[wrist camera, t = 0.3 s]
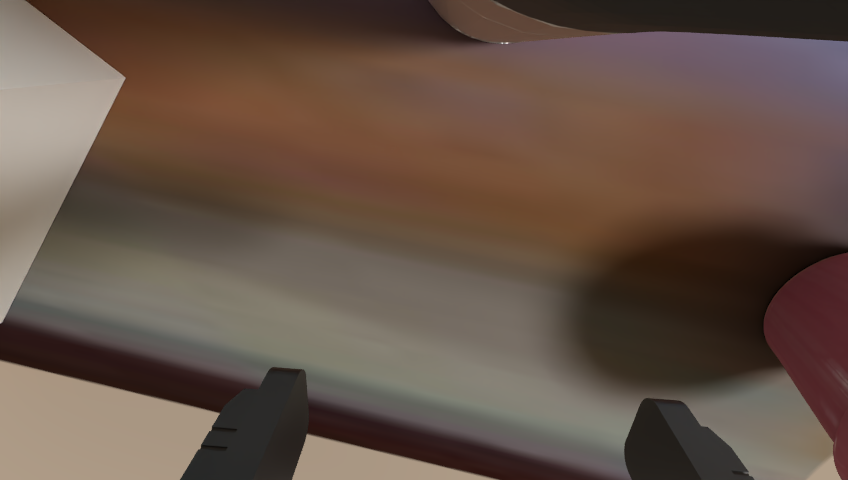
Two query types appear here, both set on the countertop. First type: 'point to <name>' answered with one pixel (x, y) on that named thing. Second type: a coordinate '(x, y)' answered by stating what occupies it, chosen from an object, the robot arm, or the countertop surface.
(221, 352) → the countertop surface
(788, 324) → the plant pot
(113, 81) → the cabinet
